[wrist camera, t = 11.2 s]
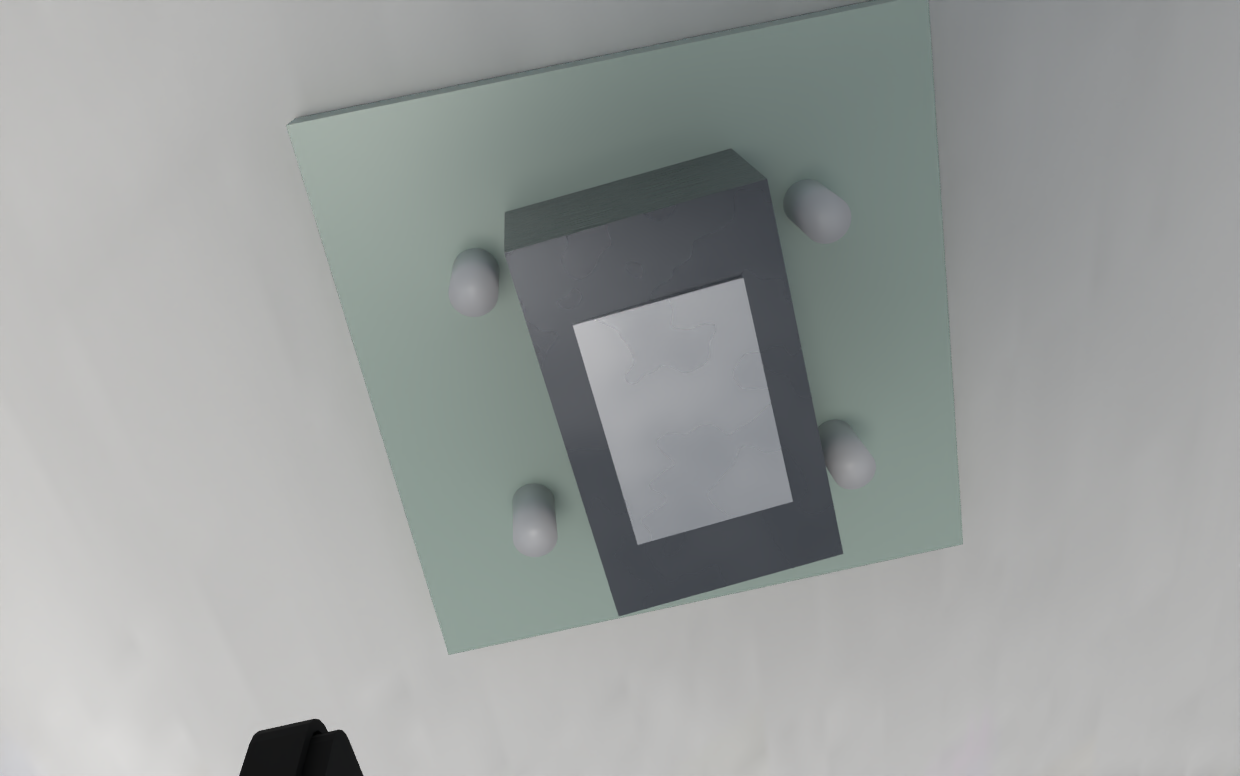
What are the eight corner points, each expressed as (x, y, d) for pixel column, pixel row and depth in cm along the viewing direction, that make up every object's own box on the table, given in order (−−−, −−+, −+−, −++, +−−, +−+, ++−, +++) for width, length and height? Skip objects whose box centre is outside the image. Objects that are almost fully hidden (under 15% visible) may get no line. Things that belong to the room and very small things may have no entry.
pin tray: (910, -8, 27) (960, -4, 24) (947, 524, 33) (990, 580, 30) (295, 118, 26) (268, 138, 23) (450, 631, 33) (445, 698, 30)
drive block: (731, 148, 27) (769, 180, 23) (803, 482, 30) (845, 557, 27) (504, 211, 27) (504, 254, 23) (605, 537, 31) (619, 620, 27)
